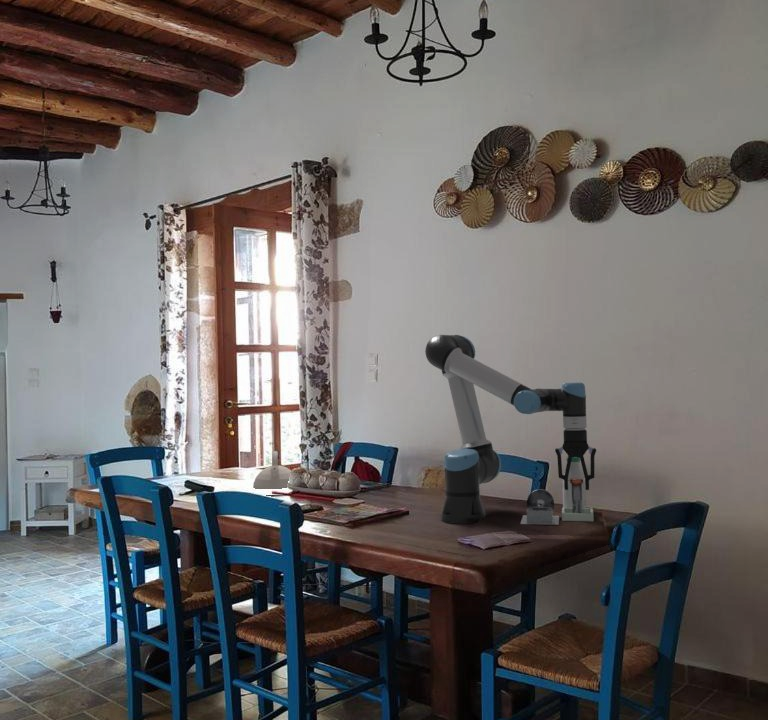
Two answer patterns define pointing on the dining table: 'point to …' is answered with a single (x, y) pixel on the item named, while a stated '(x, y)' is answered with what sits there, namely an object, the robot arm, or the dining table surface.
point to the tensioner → (540, 509)
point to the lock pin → (576, 495)
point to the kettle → (273, 475)
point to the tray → (577, 515)
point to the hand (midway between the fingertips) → (577, 499)
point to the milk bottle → (573, 473)
